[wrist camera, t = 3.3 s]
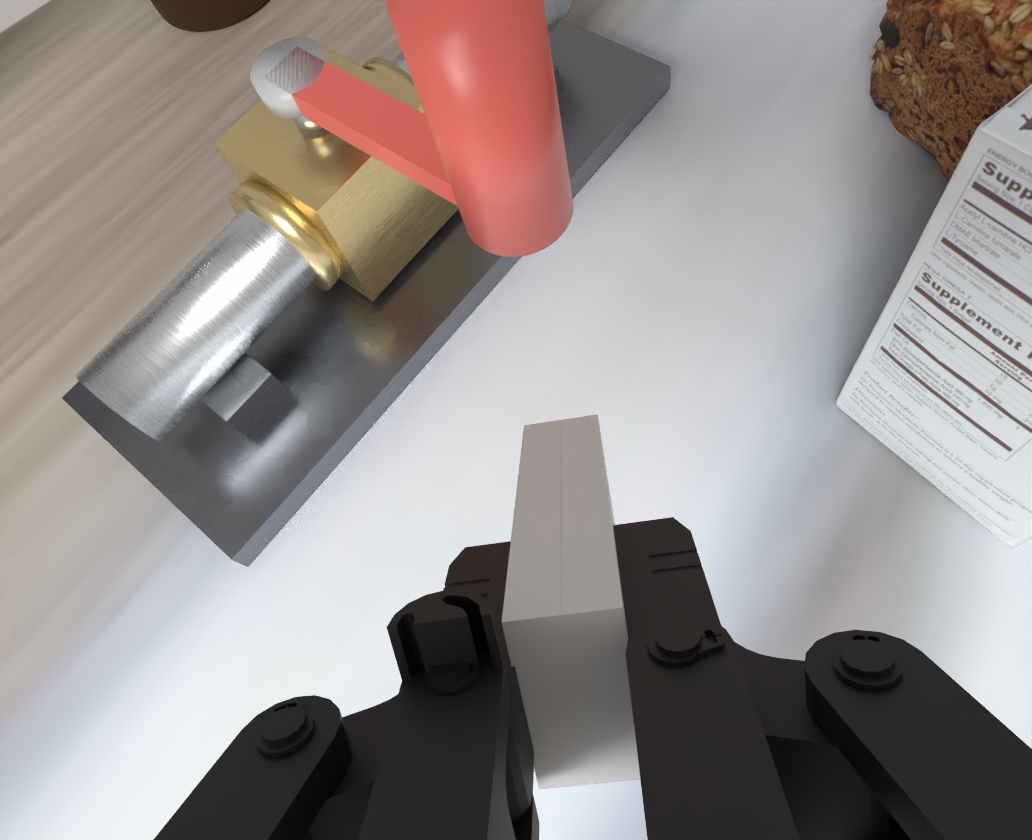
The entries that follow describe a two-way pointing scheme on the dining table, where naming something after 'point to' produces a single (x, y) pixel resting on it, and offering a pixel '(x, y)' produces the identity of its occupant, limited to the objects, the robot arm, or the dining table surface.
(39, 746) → the dining table surface
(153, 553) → the dining table surface
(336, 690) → the dining table surface
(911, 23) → the bread
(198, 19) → the olive oil
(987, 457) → the supplement box
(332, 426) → the valve pipe
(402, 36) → the lever
